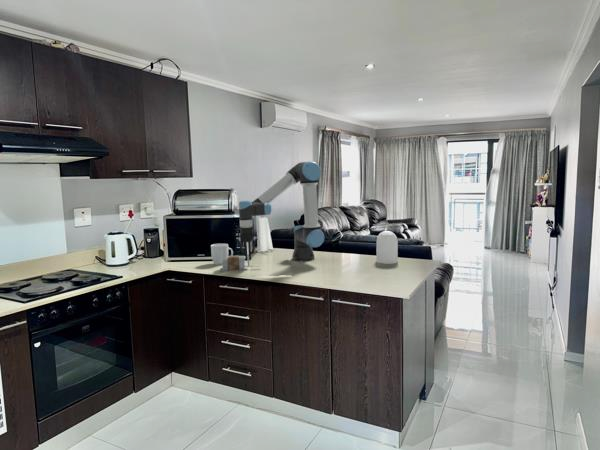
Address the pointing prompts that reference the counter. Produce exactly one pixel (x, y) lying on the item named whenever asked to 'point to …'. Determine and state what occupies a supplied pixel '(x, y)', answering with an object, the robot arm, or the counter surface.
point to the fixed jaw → (225, 264)
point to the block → (233, 262)
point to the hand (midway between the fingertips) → (248, 265)
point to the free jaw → (241, 262)
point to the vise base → (236, 270)
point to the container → (387, 248)
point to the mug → (219, 252)
